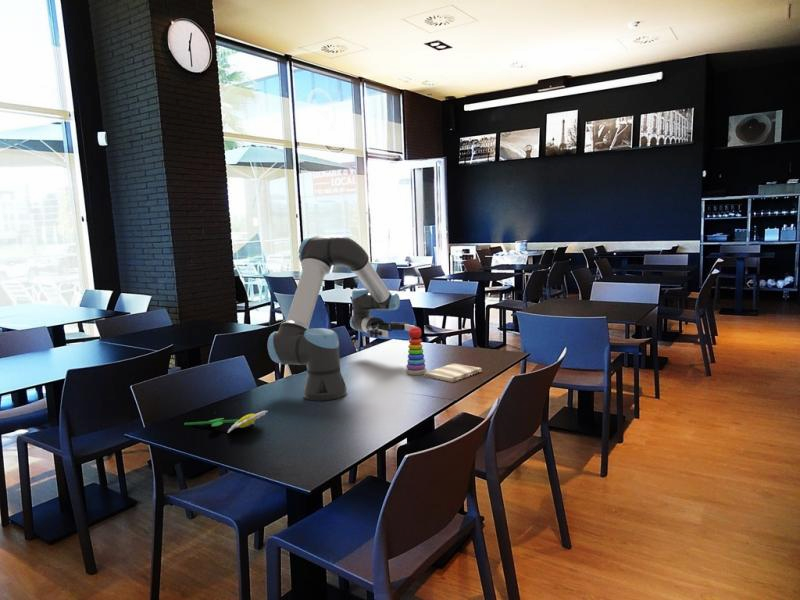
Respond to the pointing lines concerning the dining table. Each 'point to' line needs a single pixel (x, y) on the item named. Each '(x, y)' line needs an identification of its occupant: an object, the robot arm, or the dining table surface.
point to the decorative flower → (239, 422)
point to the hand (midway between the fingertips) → (401, 331)
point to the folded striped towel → (452, 372)
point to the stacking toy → (415, 353)
